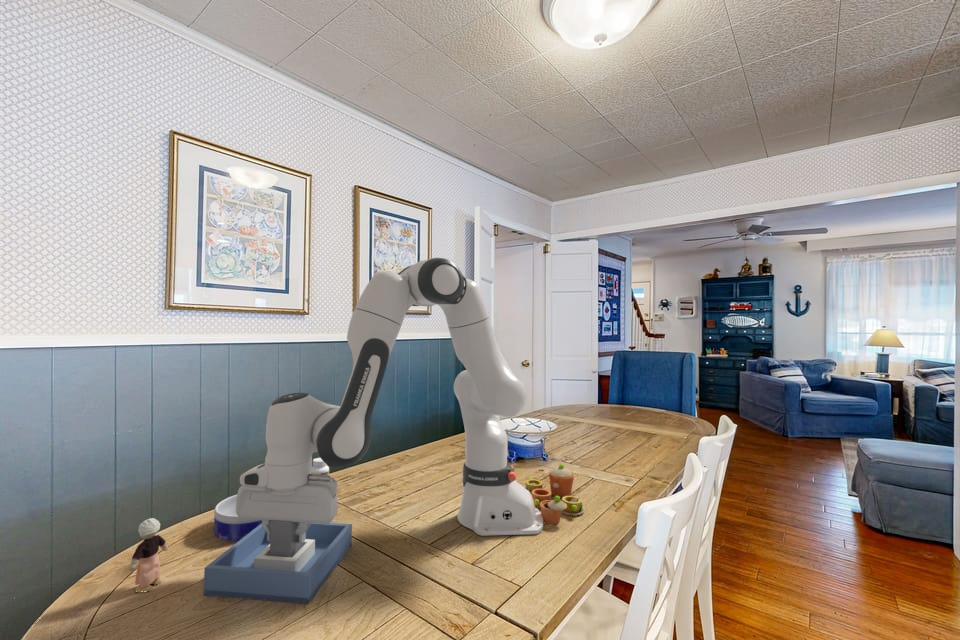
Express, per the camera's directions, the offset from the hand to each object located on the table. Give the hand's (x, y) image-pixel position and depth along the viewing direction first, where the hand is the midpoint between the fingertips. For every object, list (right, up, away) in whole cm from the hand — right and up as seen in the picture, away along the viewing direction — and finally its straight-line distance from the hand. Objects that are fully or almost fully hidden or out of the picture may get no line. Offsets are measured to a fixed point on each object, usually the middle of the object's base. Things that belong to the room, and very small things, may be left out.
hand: (286, 540), depth 87 cm
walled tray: (0, -6, 0) cm, 6 cm away
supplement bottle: (-8, -6, +39) cm, 40 cm away
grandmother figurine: (-23, -5, -7) cm, 25 cm away
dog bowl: (-17, -6, +17) cm, 25 cm away
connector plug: (0, -3, 0) cm, 3 cm away
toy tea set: (+61, -8, +34) cm, 71 cm away
